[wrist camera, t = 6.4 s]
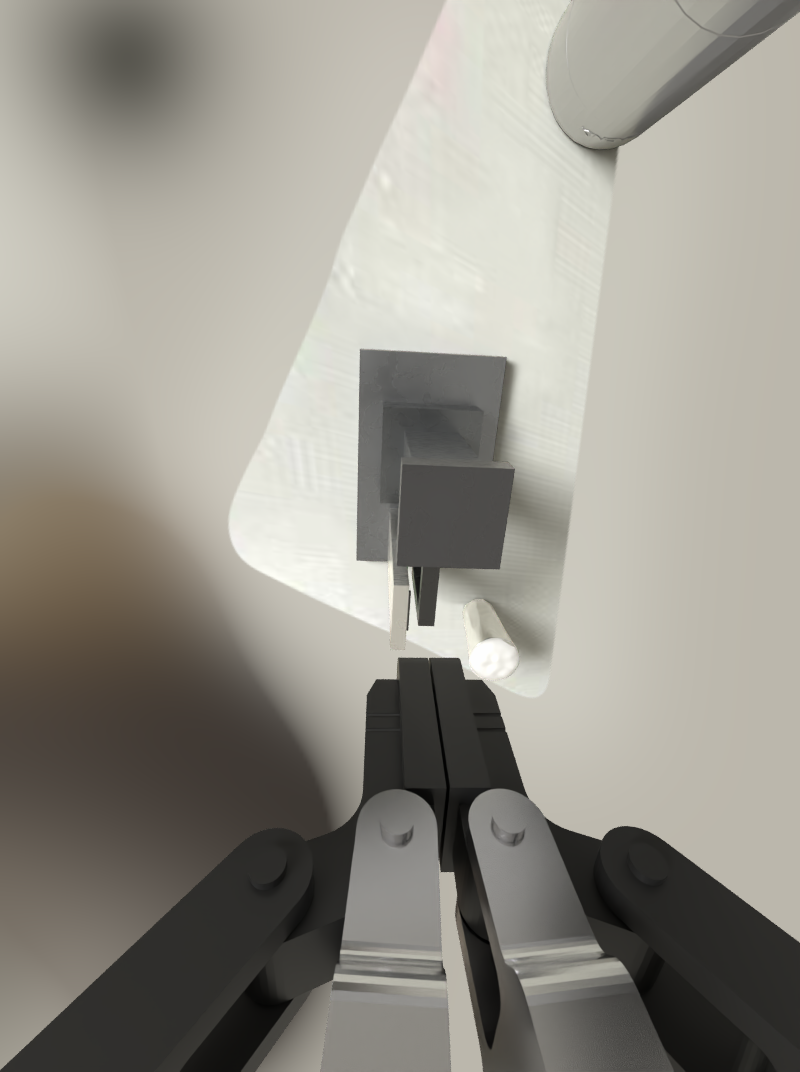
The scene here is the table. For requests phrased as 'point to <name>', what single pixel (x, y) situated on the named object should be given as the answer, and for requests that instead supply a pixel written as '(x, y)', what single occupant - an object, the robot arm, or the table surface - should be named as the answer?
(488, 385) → the gauge stand
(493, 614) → the milkshake
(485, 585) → the table surface
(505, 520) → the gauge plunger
